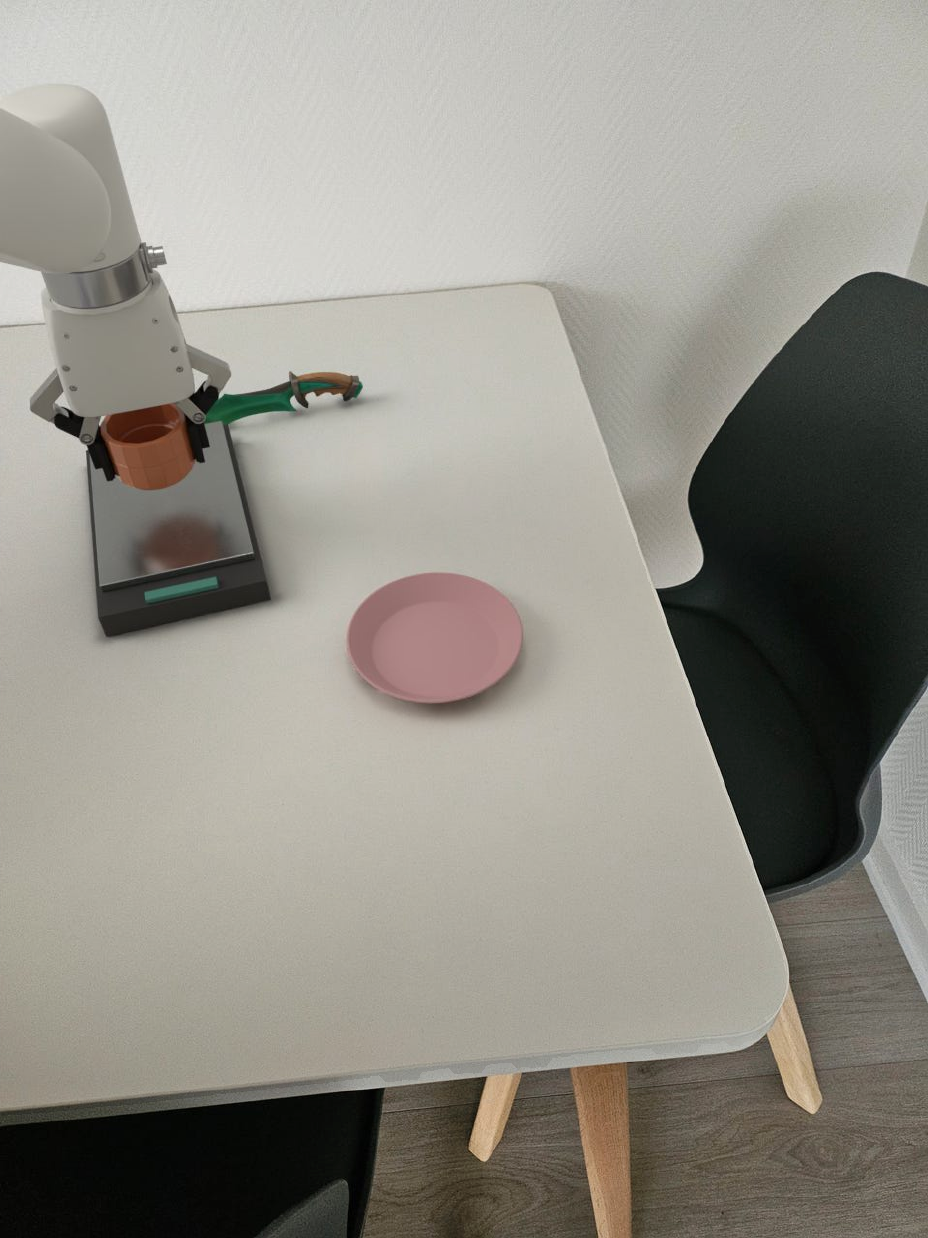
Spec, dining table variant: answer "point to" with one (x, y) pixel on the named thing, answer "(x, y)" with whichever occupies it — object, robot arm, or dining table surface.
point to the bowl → (149, 446)
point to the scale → (175, 544)
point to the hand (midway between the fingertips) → (155, 461)
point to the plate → (434, 637)
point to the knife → (283, 396)
